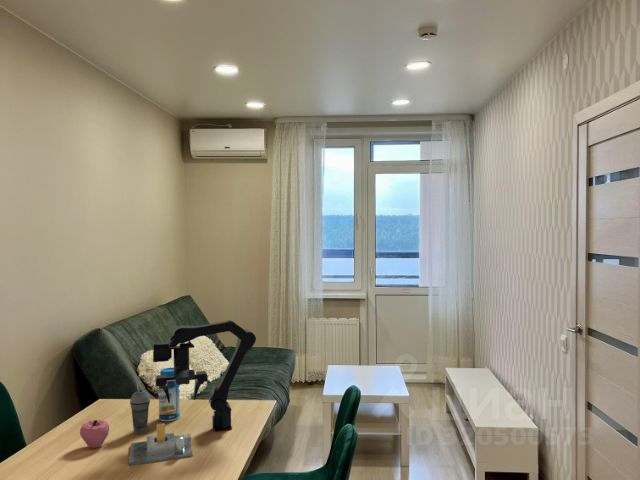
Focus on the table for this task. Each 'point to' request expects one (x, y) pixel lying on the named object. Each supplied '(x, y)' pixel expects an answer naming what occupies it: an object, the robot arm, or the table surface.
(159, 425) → the pale yellow rectangular prism
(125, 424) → the table surface
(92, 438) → the apple
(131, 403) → the beverage cup
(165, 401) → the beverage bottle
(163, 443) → the gray tray
